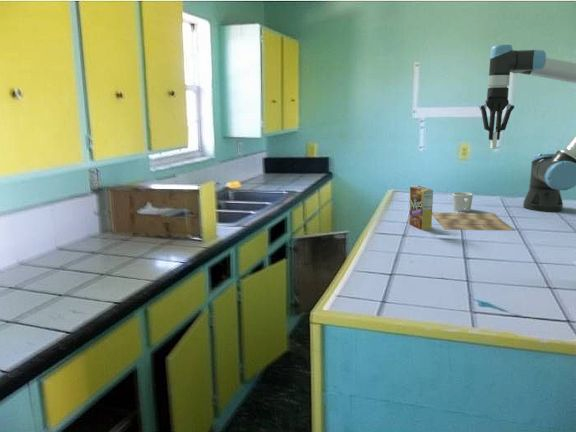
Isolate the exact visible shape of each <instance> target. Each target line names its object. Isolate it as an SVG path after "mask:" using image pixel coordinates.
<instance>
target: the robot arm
mask: <svg viewBox="0 0 576 432" xmlns="http://www.w3.org/2000/svg"><path fill="white" fill-rule="evenodd" d="M490 49H491V50H490V56H489V69H488V70H489V71H488V79H487V80H488V83H487V86H488V88H487V92H486V93H487V94H486V100H485V102H484V103H483V104H482V105H479V107H478V108H479V111H480V112H481V118H482V122H483V129H484V130H485V131H488V141H490V145H489V147H490V149H493V150H494V149H495V150H496V149H497V143H498V141H499V140H500V135H501V132H503V131H505V130H506V129H507V126H508V123H509V119H510V116H511V113H512V111H513V110H514V108H515V105H513V104H511V103H509V99H508V97H509V87H510V86H509V85H510V78H511V77H510V76H511V73H512V74H522V75H528V76H533V77H538V78H545V79H551V80H556V81H561V82H567V83H571V84H572V83H573V84H576V62H572V61H567V60H561V59H557V58H549V57H547V54H546V51H545V50H543V49H524V50H523V49H521V50H514V49H513V46H512V44H496V45H493V46H492V47H491V48H490ZM508 86H509V87H508ZM487 108H488V110H489V119H488V113H487ZM504 109H506V111H505V113H504V115H503V111H504ZM502 116H503V119H502ZM495 120H496V122H495ZM530 169H531V170H530V179H529V187H528V188H529V189H528V190H527V193H526V195H525V197H524V200H523V204H522V207H523V208H525V209H528V210H531V211H538V212H539V211H540V212H560V211H562V210H563V207H564V202H563V198H562V195H561V191H568V190H571V189H573V188H574V187H576V134H575V135H574V136H573V138H572V139H571V140H570V141H569V143H568V144H567V146H566V147H565V148H561V149H557V151H556V152H555V153H535V154H534V155H532V159H531V167H530ZM559 210H560V211H559Z"/></svg>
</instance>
